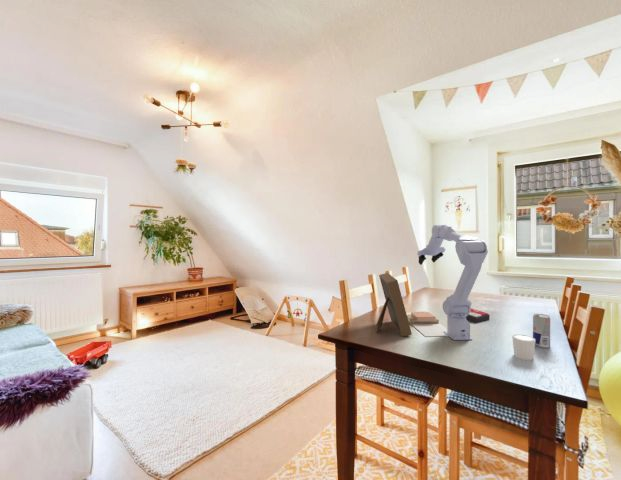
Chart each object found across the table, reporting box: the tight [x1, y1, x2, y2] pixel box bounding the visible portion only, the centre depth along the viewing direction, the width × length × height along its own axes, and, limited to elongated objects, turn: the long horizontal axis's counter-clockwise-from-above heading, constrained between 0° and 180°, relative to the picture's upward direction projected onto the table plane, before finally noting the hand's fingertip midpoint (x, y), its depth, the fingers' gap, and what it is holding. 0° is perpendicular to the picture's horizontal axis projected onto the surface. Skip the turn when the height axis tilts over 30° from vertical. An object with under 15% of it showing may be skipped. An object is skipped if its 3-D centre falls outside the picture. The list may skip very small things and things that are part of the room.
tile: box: [410, 311, 436, 321], centre depth 146 cm, size 8×9×2 cm
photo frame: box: [375, 272, 413, 338], centre depth 137 cm, size 15×22×25 cm
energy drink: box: [532, 313, 551, 349], centre depth 114 cm, size 5×5×12 cm
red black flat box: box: [466, 308, 490, 324], centre depth 152 cm, size 11×4×15 cm
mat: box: [411, 323, 449, 338], centre depth 134 cm, size 16×14×1 cm
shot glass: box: [511, 334, 536, 361], centre depth 105 cm, size 7×7×7 cm
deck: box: [406, 311, 440, 325], centre depth 150 cm, size 15×13×2 cm
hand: (426, 262), depth 155 cm, fingers open, 7 cm apart
